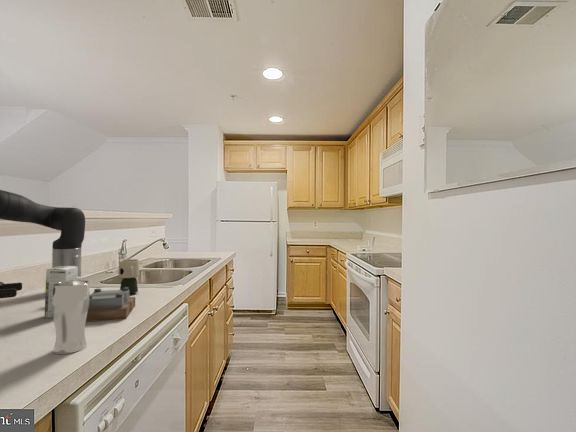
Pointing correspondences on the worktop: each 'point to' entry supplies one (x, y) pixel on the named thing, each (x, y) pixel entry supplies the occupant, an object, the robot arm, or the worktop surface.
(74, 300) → the beer glass
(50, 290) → the syrup box
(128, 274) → the character mug
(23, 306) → the worktop surface
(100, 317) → the tower base
